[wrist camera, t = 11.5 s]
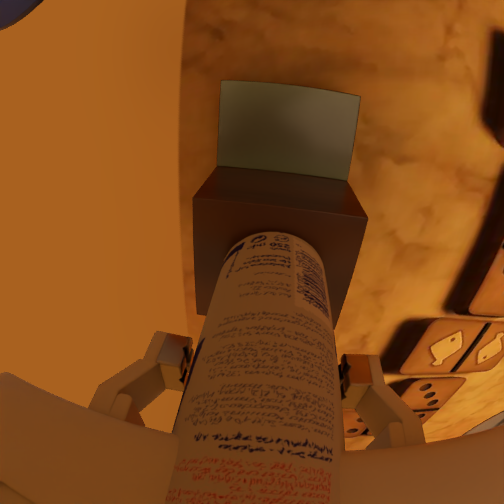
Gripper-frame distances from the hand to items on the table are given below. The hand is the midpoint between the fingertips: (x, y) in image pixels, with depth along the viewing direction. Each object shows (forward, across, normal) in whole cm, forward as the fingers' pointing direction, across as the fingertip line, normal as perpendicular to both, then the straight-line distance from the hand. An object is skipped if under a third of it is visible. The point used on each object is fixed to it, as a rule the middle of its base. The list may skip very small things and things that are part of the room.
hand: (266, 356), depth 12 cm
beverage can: (+6, 0, 0) cm, 6 cm away
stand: (+17, 0, -3) cm, 17 cm away
